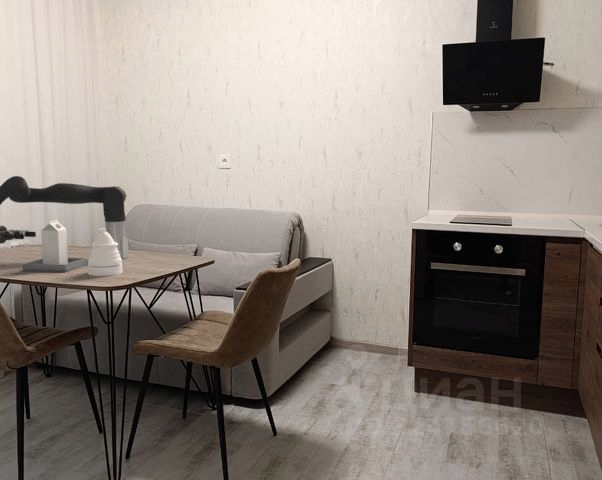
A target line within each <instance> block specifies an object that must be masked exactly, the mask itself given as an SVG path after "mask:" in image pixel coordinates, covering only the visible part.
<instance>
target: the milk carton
mask: <svg viewBox="0 0 602 480" xmlns="http://www.w3.org/2000/svg"><path fill="white" fill-rule="evenodd" d="M40 232H41V245H42V246H41V250H42V258H43V264H67V263H68V258H69V256H68V237H67V232H68V231H67V228H66V227H64V225H62V223H60V222H59V219H52V220H49V221H48V224H47V225H46V226H45V227H43V229H41V231H40Z"/></svg>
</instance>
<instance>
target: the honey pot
mask: <svg viewBox="0 0 602 480" xmlns="http://www.w3.org/2000/svg"><path fill="white" fill-rule="evenodd" d="M98 231H99V234H98V235H97V236H96V238H95V240H94V242H92V243H91V245H90V246H91V247H92V248H91V250H90V252H89V253H90V255H89V257H88V259H87V275H89V276H95V277H104V276H105V277H106V276H107V277H108V276H117V275H120V274H122V273H123V264H122V263H123V259H121V257H120V254H119V251H118V249H117V247H116V246H117V245H118V243H116V242H114V240H113V239H112V237H111V236H110V234H109V233H107V232H106V228H105V227H104V228H102V227H101V228H98Z"/></svg>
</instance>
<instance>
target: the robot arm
mask: <svg viewBox="0 0 602 480" xmlns="http://www.w3.org/2000/svg"><path fill="white" fill-rule="evenodd" d="M7 199H9V200H10V201H12V202H13V203H21V204H23V203H25V204H26V203H27V204H28V203H49V204H50V203H52V204H53V203H54V204H68V205H78V204H79V205H80V204H91V203H92V204H93V203H94V204H95V203H96V204H102V209H103V217H104V228H106V232H107V233H109V234H110V236H111V237H112V239H113V240H114V242H116V243H118V245H117V246H116V247H117V249H118V251H119V254H120V257H121V259H122V260H123V259H126V258H129V237H128V236H127V220H126V218H127V217H126V212H125V201H126V200H127V193H126V192H125V190H124V189H123V188H121V187H120V186H117V185H116V186H91V185H85V184H84V185H83V184H77V183H66V182H64V183H63V182H60V183H54V184H52V185H50V186H47V187H44V188H38V187H37V188H36V187H35V188H34V187H29V185H28V182H27V181H26V179H25V178H24V177H22V176H20V175H19V176H18V175H15V176H11V177H9V178H8V179H6V180H5V181H4V182H3V183H2V184H1V185H0V206H1V205H2V204H3V202H5V201H6V200H7ZM36 237H37V232H36V231H29V230H28V229H27V230H22V229H21V230H20V229H8V228H7V227H6V226H4V225H0V244H5V243H6V242H7V241H13V240H24V239H25V238H36Z"/></svg>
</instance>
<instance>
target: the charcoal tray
mask: <svg viewBox="0 0 602 480" xmlns="http://www.w3.org/2000/svg"><path fill="white" fill-rule="evenodd" d="M84 266H88V259H87V257H68V263H67V264H43V257H42V258H39V259H35V260H32V261H27V262H24V263H22V272H35V273H36V272H38V273H39V272H41V273H68V272H70V271H73V270H77V269H79V268H82V267H84Z"/></svg>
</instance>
